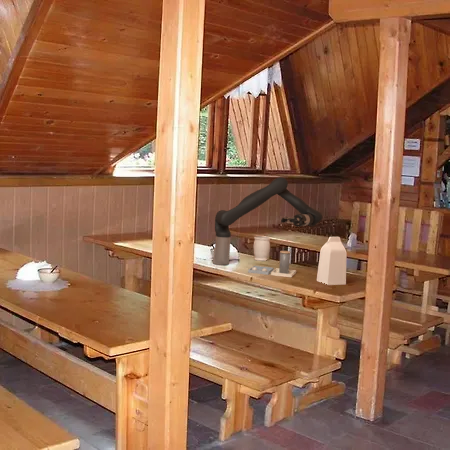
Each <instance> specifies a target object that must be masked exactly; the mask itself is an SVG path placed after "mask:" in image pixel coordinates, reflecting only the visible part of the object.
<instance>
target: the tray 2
mask: <svg viewBox="0 0 450 450" xmlns="http://www.w3.org/2000/svg"><path fill="white" fill-rule="evenodd" d="M296 274H297V270H296V269H291V268H289V274H284V273H279V267H278V268H277V267H276V268H274V270H273V271H272V272H271V273H270V276H276V277H285V278H286V277H287V278H292V277H293V276H294V275H296Z"/></svg>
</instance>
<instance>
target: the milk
mask: <svg viewBox="0 0 450 450" xmlns="http://www.w3.org/2000/svg"><path fill="white" fill-rule="evenodd" d="M319 252H320V253H319V257H318V260H319V261H318V267H317V275H316V281H317V282H319V283H321V282H322V283H321V284H324V283H325V284H324V285H326V284H327V285H326V286H334V285H335V286H336V285H337V286H339V285H347V255H348V254H347V250H346V248H345V246H344V244H343V242H342V240H341V237H340V236H329V238H328V240H327V241H326V242H325V243H324V244H323V245H322V247H321V248H320V251H319Z"/></svg>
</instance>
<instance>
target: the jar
mask: <svg viewBox="0 0 450 450" xmlns="http://www.w3.org/2000/svg"><path fill="white" fill-rule="evenodd" d="M253 238H254V242H253V255H254V259H253V260H255V261H258V262H267V261H268V256H269V254H270V250H271V249H270V248H271V242H270V240H271V237H270V236H269V237H268V236H262V235H261V236H260V235H257V236H253ZM266 260H267V261H266Z"/></svg>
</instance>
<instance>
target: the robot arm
mask: <svg viewBox="0 0 450 450" xmlns="http://www.w3.org/2000/svg"><path fill="white" fill-rule="evenodd" d="M288 187H289V182H288V180H287V179H286V178H284V177H279V176H278V177H276V178H274V179H273V180H272V181H270V183H269V184H268V185H266V186H264V187H262V188H260V189H257V190H255V191H254V192H251V193H250V194H248V195H247V196H246V197H243V198H242V200H240V202H239V203H238V204H237V205H236V206H235V207H233V208H231V209H229V210H225V209H220V210H218V211H217V212H216V214H215V218H214V232H215V244H214V248H213V261H212V264H213V265H218V266H229V265H230V256H231V255H230V254H231V253H230V251H231V236H232V235H231V234H232V232H231V230H230V228H229V227H230V225H233V224H234V223H235V222H236V221H238V220H239V219H240V218H242V217H243V216H245V215H247V214H249V213H250V212H252V211H254V210H256V209H257V208H258V207H260V206H261V205H263V204H264V203H266V202H267V201H268V200H270V199H271V198H272V197H274V196H276V195H277V196H279V197H280V198H282V199H284V200H285V201H286V202H287V203H289V204H290V205H291V206H292V207H293V208H294V209H295V210H296V211H297V212H298V213H299V214H298V213H297V214H295V215H294V216H292V217H282V218H281V219H280V222H281V223H284V224H285V223H287V224H292V225H294V226H295V227H304V226H305V227H306V226H309V227H315V226H316V225H318V223H320V222H321V221H322V219H323V215H322V213H321V212H320V211H319V210H317V209H314V208H313V207H311V206H310V205H309V204H307V203H306V202H305V201H304V200H303V199H302V198H300V197H299V196H296V195H295V194H294V193H292V192H291V191H290V190H288Z"/></svg>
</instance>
